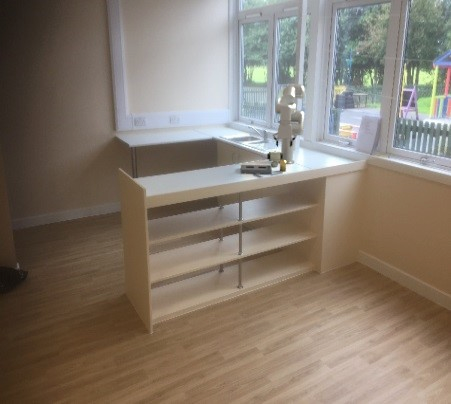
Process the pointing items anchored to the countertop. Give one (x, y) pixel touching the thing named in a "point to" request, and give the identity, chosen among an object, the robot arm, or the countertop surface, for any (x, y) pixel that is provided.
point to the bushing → (283, 165)
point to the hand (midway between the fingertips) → (284, 146)
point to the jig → (256, 169)
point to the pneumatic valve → (274, 157)
